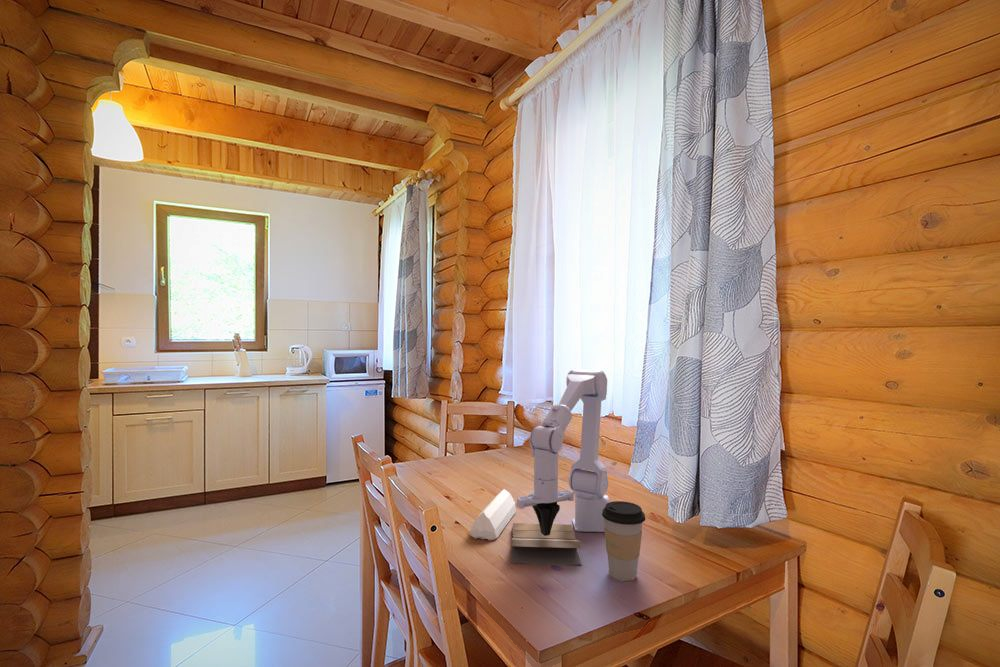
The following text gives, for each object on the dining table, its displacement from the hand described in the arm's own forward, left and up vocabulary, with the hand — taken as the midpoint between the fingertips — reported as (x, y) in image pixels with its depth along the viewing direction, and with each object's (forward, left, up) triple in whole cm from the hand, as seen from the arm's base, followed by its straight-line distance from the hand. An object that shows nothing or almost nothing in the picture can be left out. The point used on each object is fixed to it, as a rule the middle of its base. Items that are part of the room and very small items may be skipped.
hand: (545, 533), depth 111 cm
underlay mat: (0, -8, -6) cm, 9 cm away
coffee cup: (-17, +6, -6) cm, 19 cm away
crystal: (+13, -20, -6) cm, 24 cm away
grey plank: (0, -2, -4) cm, 4 cm away
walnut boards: (0, -12, -6) cm, 13 cm away
